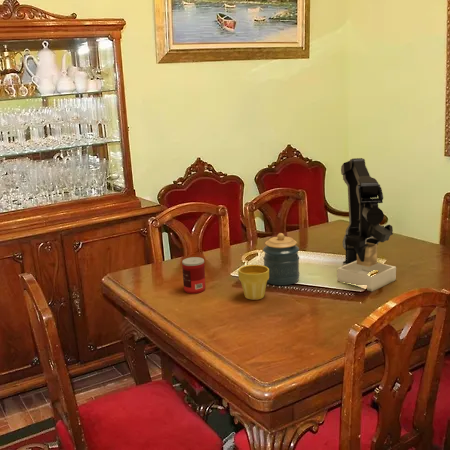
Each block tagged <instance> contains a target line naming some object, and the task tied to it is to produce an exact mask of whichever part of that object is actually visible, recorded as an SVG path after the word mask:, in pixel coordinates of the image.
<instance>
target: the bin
mask: <svg viewBox="0 0 450 450" xmlns="http://www.w3.org/2000/svg"><path fill="white" fill-rule="evenodd" d="M336 269H337V270H336V272H337V275H336V277H337V279H336V281H340V282H339V283H341V282H345V283H351V284H356V285H367V286H368V287H367V290H366V291H369V292H375V291H376V290H379V289H380V288H382V287H384V286H386V285H388V284H390V283H393V282H394V281H396V280H397V278H396V276H397V266H395V265H391V264H386V263H382V262H378V261H377V264H374V265H372V266H370V267H366V266H363V265H359V264H357V260H356V261H354V262H352V263H349V264H345V265H342V266H339V267H337V268H336ZM373 270H378V271H379V272H378V273H377V274H376V275H374V276H372V277H371V276H368V275H367V274H368V273H369V272H371V271H373Z"/></svg>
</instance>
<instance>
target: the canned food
mask: <svg viewBox="0 0 450 450" xmlns="http://www.w3.org/2000/svg"><path fill="white" fill-rule="evenodd" d="M181 265H182V266H181V267H182V279H183V280H182V282H183V291H184V292H185V293H187V294H193V295H194V294H195V295H196V294H200V293H203V292H204V291H205V290H206V269H205V259H204V258H203V257H197V256H195V257H194V256H192V257H187V258H184V259H182V262H181Z"/></svg>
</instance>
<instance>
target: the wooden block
mask: <svg viewBox="0 0 450 450" xmlns="http://www.w3.org/2000/svg"><path fill="white" fill-rule="evenodd" d="M366 244H368V245H369V246H367V247H366V249H365V258H364V262H361V261H360V259H359V257H358V255H357V264H359V265H363V266H366V267H370V266H372V265H374V264H377V262H378V245H377V244H372V243H368V242H366Z"/></svg>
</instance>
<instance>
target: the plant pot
mask: <svg viewBox="0 0 450 450" xmlns="http://www.w3.org/2000/svg"><path fill="white" fill-rule="evenodd" d="M237 273H238V274H237V275H238V280H239V281H240V283H241V287H242V291H243V294H244V295H243V296H244V298H246V299H248V300H253V301H255V300H261V299H264V297H265V294H266V289H267V288H266V287H267V284H268V283H267V280H268V279H269V268H268V267H266V266H264V265H261V264H247V265H244V266H240V267H239V268H238V269H237Z"/></svg>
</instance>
